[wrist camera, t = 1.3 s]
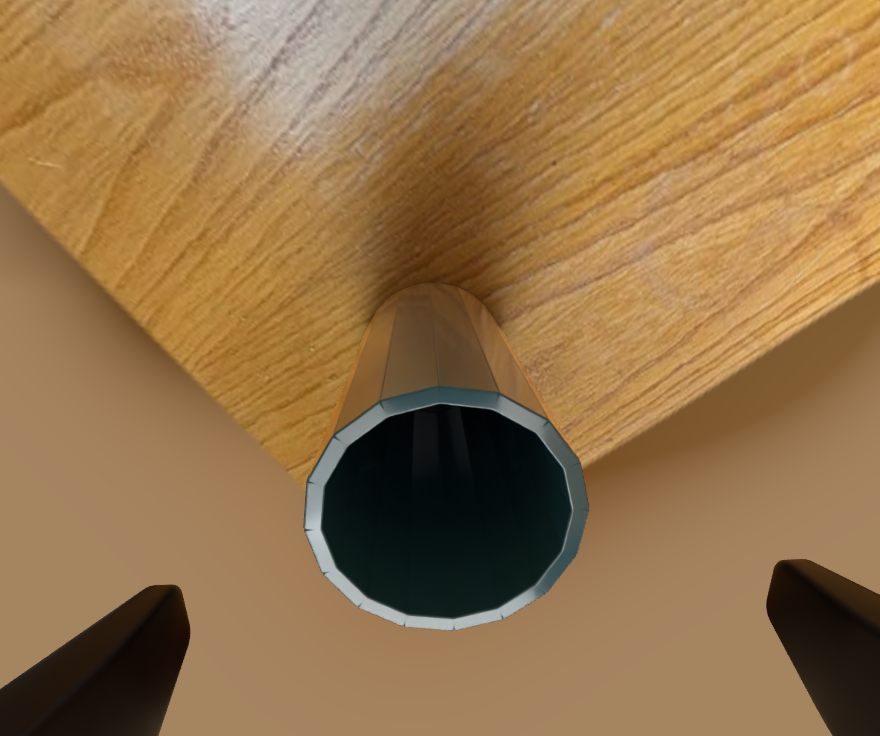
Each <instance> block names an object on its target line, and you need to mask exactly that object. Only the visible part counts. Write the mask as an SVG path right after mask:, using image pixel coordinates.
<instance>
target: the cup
mask: <svg viewBox="0 0 880 736" xmlns="http://www.w3.org/2000/svg"><path fill="white" fill-rule="evenodd" d="M588 512H589V503H588V498H587V493H586V488H585V482H584V477H583V472H582V466H581V462H580V461H579V458H578V456H577V455H576V453H575V451H574V450H573V448H572V446H571V445H570V443H569V441H568V440H567V438H566V436H565V435H564V433H563V431H562V430H561V428H560V426H559V425H558V423H557V421H556V420H555V418H554V416H553V415H552V413H551V411H550V410H549V408H548V406H547V405H546V403H545V401H544V400H543V398H542V396H541V395H540V393H539V391H538V390H537V388H536V386H535V385H534V383H533V381H532V380H531V378H530V376H529V375H528V373H527V371H526V370H525V368H524V366H523V365H522V363H521V361H520V360H519V358H518V357H517V355H516V353H515V352H514V350H513V348H512V347H511V345H510V343H509V342H508V340H507V338H506V337H505V335H504V333H503V332H502V330H501V328H500V327H499V325H498V323H497V322H496V320H495V319H494V318H493V316H492V315H491V314H490V312H489V311H488V309H487V308H486V307H485V306H484V304H483V303H482V302H481V301H480V300H478V299H477V298H476V297H475V296H473V295H472V294H470V293H469V292H467V291H465V290H463V289H461V288H458V287H455V286H453V285H448V284H443V283H423V284H418V285H413V286H410V287H408V288H405V289H403V290H401V291H399V292H397V293H396V294H394V295H393V296H391V297H390V298H389V299H387V300H386V301H385V302H384V303H383V304H382V305H381V306H380V307H379V309H378V310H377V311H376V313H375V315H374V316H373V318H372V320H371V322H370V324H369V326H368V328H367V329H366V331H365V334H364V336H363V339H362V341H361V344H360V346H359V349H358V351H357V354H356V356H355V359H354V362H353V364H352V367H351V369H350V372H349V374H348V377H347V379H346V382H345V384H344V387H343V390H342V392H341V395H340V397H339V400H338V402H337V405H336V407H335V410H334V412H333V415H332V417H331V420H330V423H329V425H328V428H327V430H326V433H325V435H324V438H323V440H322V443H321V445H320V448H319V451H318V453H317V456H316V458H315V461H314V463H313V466H312V468H311V471H310V473H309V476H308V479H307V482H306V497H305V513H304V532H305V534H306V536H307V539H308V541H309V544H310V546H311V548H312V551H313V553H314V556H315V558H316V560H317V563H318V565H319V568H320V570H321V572H322V573H323V575H324V576H325V577H326V578H327V579H328V580H329V581H330V582H331V583H332V584H333V585H334V586H335V587H336V588H337V589H338V590H340V591H341V592H342V593H343V594H344V595H345V596H346V597H347V598H348V599H349V600H350V601H351V602H352V603H353V604H354V605H355V606H358V608H360V609H362V610H365V611H367V612H369V613H372V614H374V615H377V616H379V617H381V618H384V619H386V620H388V621H391V622H393V623H395V624H398V625H400V626H404V627H413V628H424V629H437V630H450V631H453V630H460V629H464V628H468V627H473V626H477V625H481V624H486V623H490V622H494V621H498V620H502V619H503V618H507V617H509V616H510V615H512V614H513V613H515V612H517V611H518V610H520V609H522V608H523V607H525V606H527V605H528V604H530V603H531V602H533V601H535V600H536V599H538V598H540V597H541V596H543V595H545V593H546V592H548V591H549V590H550V589H551V587H552V586H553V585H554V583H555V582H556V581H557V580H558V578H559V577H560V576H561V575H562V573H563V572H564V571H565V570H566V568H567V567H568V565H570V563H571V562H572V561H573V559H574V558H575V557H576V554H577V553H578V549H579V546H580V542H581V538H582V534H583V531H584V527H585V523H586V519H587V516H588Z"/></svg>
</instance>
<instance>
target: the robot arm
mask: <svg viewBox="0 0 880 736" xmlns="http://www.w3.org/2000/svg"><path fill="white" fill-rule="evenodd" d="M766 608H767V614H768V617H769V619H770V621H771V623H772V625H773V627H774V629H775V631H776V633H777V635H778V637H779V639H780V640H781V642H782V644H783V646H784V648H785V650H786V652H787V654H788V655H789V657H790V659H791V661H792V663H793V665H794V666H795V668H796V670H797V672H798V674H799V676H800V678H801V680H802V682H803V684H804V685H805V687H806V689H807V691H808V693H809V695H810V697H811V699H812V701H813V702H814V704H815V706H816V708H817V710H818V711H819V713H820V715H821V717H822V719H823V720H824V722H825V724H826V726H827V727H828V729H829V730H830V732H831V734H832V735H833V736H880V595H879V594H877V593H875V592H873V591H871V590H869V589H867V588H865V587H863V586H861V585H859V584H857V583H855V582H853V581H851V580H849V579H847V578H845V577H843V576H840V575H839V574H837V573H835V572H832V571H830V570H828V569H826V568H824V567H822V566H820V565H818V564H816V563H814V562H812V561H810V560H805V559H794V560H781V561H779V562H778V563H777V564H776V565H775V567H774V571H773V575H772V579H771V584H770V588H769V592H768V597H767V602H766ZM189 639H190V624H189V621H188V616H187V611H186V607H185V603H184V599H183V594H182V591H181V589H180V588H179V587H178V586H176V585H154V586H149V587H147V588H145V589H144V590H142V591H141V592H139V593H138V594H136V595H135V596H133V597H132V598H131V599H129V600H128V601H126V602H125V603H124V604H122V605H121V606H119V607H118V608H116V609H115V610H113V611H112V612H110V613H109V614H108V615H106V616H105V617H103V618H102V619H100V620H99V621H98V622H96V623H95V624H93V625H92V626H90V627H89V628H88V629H86V630H85V631H83V632H82V633H80V634H79V635H77V636H76V637H74V638H73V639H72V640H70V641H69V642H67V643H66V644H65V645H63V646H62V647H60V648H59V649H57V650H56V651H54V652H53V653H51V654H50V655H49V656H47V657H46V658H44V659H43V660H41V661H40V662H39V663H37V664H36V665H34V666H33V667H31V668H30V669H28V670H27V671H26V672H24V673H23V674H21V675H20V676H18V677H17V678H16V679H14V680H13V681H11V682H10V683H9V684H7V685H5V686H4V687H3V688H1V689H0V736H158V735H159V732H160V729H161V726H162V723H163V720H164V717H165V714H166V711H167V708H168V705H169V702H170V699H171V696H172V693H173V690H174V687H175V684H176V681H177V678H178V675H179V672H180V669H181V666H182V663H183V660H184V657H185V654H186V651H187V648H188V645H189Z"/></svg>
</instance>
